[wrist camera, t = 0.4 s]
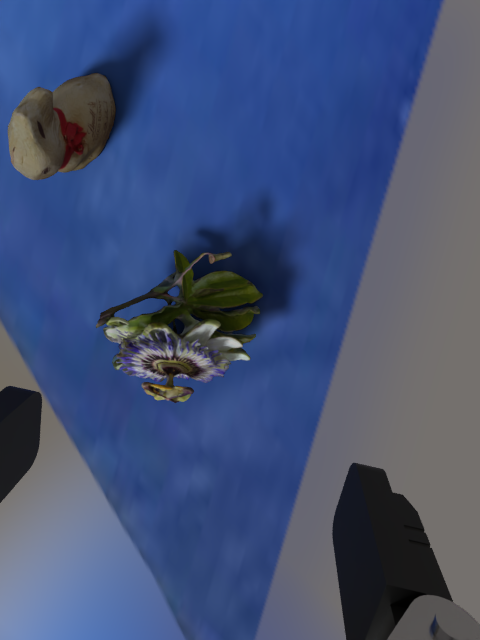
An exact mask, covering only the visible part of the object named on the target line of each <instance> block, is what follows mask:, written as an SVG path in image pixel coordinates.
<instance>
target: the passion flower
mask: <svg viewBox="0 0 480 640" xmlns="http://www.w3.org/2000/svg"><path fill="white" fill-rule="evenodd" d="M205 254H209V262H210V263H211V264H213V262H215V261H218V260H221V259H226V258H228V257H231V256H232V255H231V253H230V252H225V253H219V254H212V253H202V254H201V255H200V256H199V257H198V258H196V259H195V260H194V261H193V262H192V263H191V264H190V263H189V261H188V260H187V258H186V257H185V256H184V255H183V254H181V253H180V252H178V251H177V250H175V251H174V257H175V267H176V272H174V273H173V274H171V275H170V276H168V277H167V278H166V279H165V280H164V281H163V282H162V283H160V284H159V285H158V286H156V287H154V288H153V289H152V290H151V291H150V292H148V293H147V294H145V295H142V296H140V297H137V298H135V299H133V300H131V301H129V302H126V303H124V304H121V305H119V306H116V307H112V308H110V309H108V310H106V311H104V312H102V313H101V315H100V319H99V320H98V324H97V325H96V328H97V327H99V326H102V325H104V324H105V323H106V324H107V325H109V326H107V327H105V328H104V329H103V330H104V334H105V336H106V338H107V339H109V340H110V341H112V342H117V343H119V344H120V345H119V348H120V352H119V354H117V355H115V356H114V358H113V362H112V363H113V366H114V368H115V369H116V370H121V369H123V372H125V373H126V374H128V375H129V376H131V375H132V376H134V375H136V376H138V377H140V378H152V379H153V380H154V381H156V382H161V381H163V380H164V379H165V378H167V383H166V385H159V384H153V383H149V382H144V383H142V388H143V389H144V390H145V392H146V393H147V394H148V395H152V396H154V398H155V399H156V400H164V399H166V400H170V401H172V402H174V403H176V402H179V401H182V402H183V401H186V400H187V399H188V398H189V397H190V396H191V394H193V392H194V390H193V389H192V388H190V387H180V386H174V385H173V377H178V378H181V377H182V378H186V379H187V380H189V378H193V379H195V380H199V381H202V382H206V383H207V382H208V381H211V380H212V377H214V376H221V377H224V376H223V374H225V371H226V370H227V369H228V368H229V364H231V363H230V361H235V360H240V359H242V360H250V356H249V355H248V354H247V353H246V351H245V350H243V349H242V348H241V347H243V345H242V344H243V343H247V342H250V341H251V340H252V339H254V338H255V337H256V334H252V335H243V334H231V333H232V332H233V331H238V330H242V329H244V328H245V327H247V326H248V325H250V323H251V322H252V320H253V317H254V314H260V309H259V308H258V306H255V307H244V308H242V309H236V310H231V311H221V310H219V308H220V309H224V308H231V307H237V306H241V305H244V304H246V303H250V304H252V303H254V302H255V301H257V300H259V299H260V298H262V297H263V294H262V293H260V292H259V291H258V290H257V289H256V287H255V285H253V284H252V282H250V281H248V280H246V279H244V278H243V277H241V276H239V275H237V274H235V273H233V272H231V271H215V272H212V273H209V274H207V275H205V276H204V277H201V278H199V279H197V280H195V281H193V276H194V273H193V270H192V266H193V265H194V264H195V263H196V262H198V261H199V260H200V259H201V258H202V257H203V256H204V255H205ZM174 278H175V279H174ZM176 285H177V286H178V287H179V289H180V293H179V296H177V297H172V296H170V295H169V294H168V291H169V290H170V289H171V288H173V287H175V286H176ZM148 298H156V299H164V300H166V301H167V303H168V306H164V307H163V308H162V309H161V310H159V311H157V312H154V313H149V314H142V315H140V316H138V317H133V318H132V319H130V320H129V321H127V320H125V319H123V318H119V317H114V314H115V312H117V311H119V310H121V309H124V308H126V307H129V306H130V305H133V304H136V303H138V302H140V301H143V300H145V299H148ZM173 301H175V302H176V304H175V305H171V303H172V302H173ZM190 314H192V315H194V316H196V317H198V318H201V319H203V320H202V321H198V320H195V319H194V318H193V317H192V316H191V315H190ZM175 319H179V320H180V321H182V322H183V323H184V326H185V328H184V330H183V332H182V333H181V334H177V329H176V325H175ZM172 321H173V330H171V328H170V327H169V326H168V324H170V323H171V322H172ZM216 329H218V330H220V331H223V332H228V334H225V333H221V332H218V331H216Z"/></svg>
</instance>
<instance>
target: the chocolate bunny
mask: <svg viewBox="0 0 480 640" xmlns="http://www.w3.org/2000/svg"><path fill="white" fill-rule="evenodd" d="M115 112H116V108H115V102H114V99H113V95H112V91H111V86H110V84H109V82H108V80H107V78H106V77H105V76H104V75H101V74H98V73H94V74H91V75H87V76H81V77H76V78H73V79H70V80H67V81H66V82H64V83H63V84H62V85H60V86H59V87H58V88H57V89H55V90H54V91H53V92H51V91H50V90H47V89H44V88H41V87H37V88H35V89H33V90H32V91H30V92H29V93H28V94H27V95H26V96H25V97H24V99H23V100H22V101H21V102H20V104H19V106H18V107H17V108H16V109H15V110H14V112H13V113H12V118H11V121H10V124H9V126H8V138H9V150H10V155H11V162H12V164H13V166H14V167H15V169H16V170H18V171H19V172H20V173H21V174H23V175H24V176H26V177H27V178H30V179H32V180H40V179H45V178H48V177H50V176H52V175H54V174H55V173H57V171H59V172H69V171H72V170H79V169H83V168H84V167H85V166H86V165H87V164H88V163H89V162H91V161H92V160H94V159H95V158H97V156H98V155H99V154H100V153H101V152H102V150H103V148H104V146H105V144H106V141H107V139H109V134H110V132H111V130H112V127H113V125H114V120H115Z"/></svg>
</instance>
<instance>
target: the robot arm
mask: <svg viewBox="0 0 480 640" xmlns="http://www.w3.org/2000/svg"><path fill="white" fill-rule="evenodd" d="M41 408H42V397H41V394H40V393H39V392H36V391H31V390H27V389H22V388H17V387H13V386H8V387H6V388H4V389H3V390H2V391H1V392H0V503H1V502H2V500H3V499H4V498H5V497H6V496H7V495H8V493H9V492H10V491H11V490H12V489H13V488H14V487H15V485H16V484H17V483H18V482H19V481H20V479H21V478H22V477H23V476H24V475H25V474H26V473H27V471H28V470H29V469H30V468H31V466H32V464H33V462H34V460H35V458H36V456H37V452H38V449H39V441H40V424H41ZM333 545H334V552H335V559H336V566H337V573H338V581H339V588H340V596H341V604H342V611H343V618H344V625H345V633H346V640H480V625H479V623H478V622H477V621H476V620H475V619H474V618H473V617H472V616H471V615H470V614H469V613H468V612H466V611H465V610H464V609H463V608H461V607H460V606H458V605H456V604H455V603H453V600H452V598H451V595H450V593H449V591H448V588H447V585H446V583H445V580H444V578H443V575H442V573H441V570H440V568H439V565H438V563H437V560H436V558H435V555H434V552H433V550H432V548H430V543H429V540H428V537H427V535H426V533H424V527H423V525H422V523H421V520H420V517H419V515H418V512H417V511H416V510H415V509H414V508H413V506H412V505H411V504H410V503H409V501H408V500H407V499H406V498H405V497H404V496H403V495H401V494H397V493H392V490H391V487H390V484H389V481H388V478H387V476H386V473H385V471H384V470H383V469H380V468H376V467H371V466H367V465H362V464H358V463H353V464H352V465H351V466H350V468H349V471H348V475H347V477H346V480H345V483H344V486H343V490H342V493H341V496H340V499H339V502H338V505H337V508H336V512H335V516H334V521H333Z"/></svg>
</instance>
